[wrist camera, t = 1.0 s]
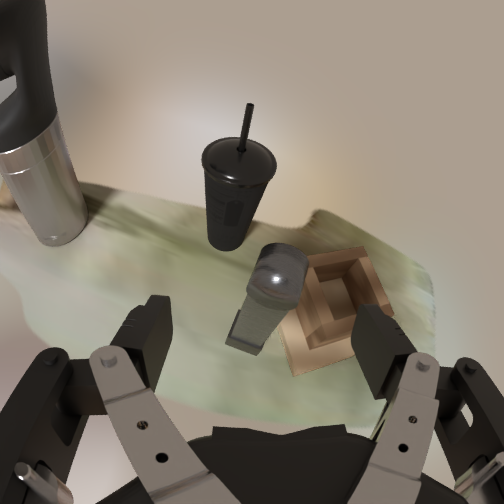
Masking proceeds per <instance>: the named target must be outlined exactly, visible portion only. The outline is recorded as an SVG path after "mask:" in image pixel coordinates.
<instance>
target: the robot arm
mask: <svg viewBox="0 0 504 504" xmlns="http://www.w3.org/2000/svg"><path fill="white" fill-rule="evenodd" d="M46 17H47V14H46V5H45V0H0V81H2V80H4V79H6V78H8V77H11V76H13V75H15V76H16V82H17V88H16V90H15V91H14V92H13V93H12V94H11V95H10V96H9V97H8V98H7V99H5V100H4V101H3V102H2V103H1V104H0V173H1V175H2V177H3V179H4V181H5V183H6V184H7V186H8V188H9V190H10V192H11V194H12V196H13V198H14V199H15V201H16V203H17V205H18V207H19V208H20V210H21V212H22V213H23V215H24V217H25V219H26V220H27V222H28V224H29V225H30V227H31V228H32V230H33V231H34V233H35V235H36V236H37V238H38V239H39V241H40V242H42V243H43V244H45V245H47V246H60V245H63V244H66V243H68V242H70V241H71V240H72V239H74V238H75V237H76V236H77V235H78V234H79V233H80V232H81V231H82V229H83V228H84V226H85V224H86V222H87V218H88V209H87V206H86V203H85V201H84V198H83V195H82V192H81V189H80V186H79V183H78V181H77V178H76V175H75V172H74V168H73V165H72V162H71V159H70V156H69V153H68V149H67V145H66V142H65V138H64V135H63V131H62V128H61V124H60V120H59V116H58V111H57V107H56V103H55V98H54V92H53V85H52V79H51V74H50V66H49V57H48V42H47V18H46ZM172 336H173V324H172V314H171V302H170V297H169V296H161V295H151V296H150V298H149V299H148V301H147V303H146V304H145V306H143V305H138V306H137V307H136V308H134V309H133V310H131V311H130V313H129V314H128V316H127V317H126V320H124V322H123V324H122V326H121V327H120V329H119V330H118V332H117V333H116V335H115V337H114V338H113V340H112V342H111V343H110V345H109V346H104V347H101V348H98V349H97V350H95V351H94V352H93V353H92V354H91V356H90V358H89V359H72V360H70V359H69V356H68V354H67V352H66V351H65V350H64V349H61V348H57V347H53V348H48V349H45V350H43V351H42V352H40V353H39V354H38V355H37V356H36V358H35V359H34V361H33V362H32V364H31V365H30V366H29V368H28V370H27V371H26V372H25V374H24V375H23V377H22V378H21V380H20V382H19V383H18V385H17V386H16V388H15V389H14V391H13V393H12V394H11V396H10V397H9V399H8V401H7V402H6V404H5V406H4V407H3V409H2V411H1V412H0V504H73V496H72V493H71V491H70V490H69V488H68V487H67V486H66V481H67V478H68V474H69V472H70V469H71V465H72V462H73V459H74V457H75V454H76V451H77V447H78V445H79V442H80V439H81V437H82V434H83V431H84V428H85V426H86V423H87V420H88V418H89V415H109V418H110V420H111V422H112V425H113V427H114V429H115V431H116V434H117V436H118V438H119V440H120V442H121V444H122V446H123V448H124V450H125V452H126V454H127V456H128V458H129V460H130V462H131V464H132V466H133V467H134V470H135V471H136V473H137V475H138V476H137V477H136V478H135V479H134V480H132V481H130V482H129V483H127V484H126V485H124V486H123V487H121V488H120V489H118V490H117V491H115V492H113V493H112V494H110V495H109V496H107V497H106V498H104V499H103V500H101V501H99V502H97V503H96V504H504V397H503V396H502V394H501V393H500V391H499V390H498V388H497V387H496V386H495V384H494V383H493V381H492V380H491V378H490V377H489V376H488V374H487V373H486V371H485V370H484V369H483V367H482V366H481V365H480V364H479V363H478V362H477V361H475V360H473V359H471V358H466V357H463V358H460V359H458V360H457V362H456V364H455V366H454V368H451V367H441V366H439V363H438V361H437V360H436V359H435V358H434V357H432V356H431V355H429V354H426V353H421V352H417V350H416V349H415V347H414V346H413V344H412V343H411V342H410V340H409V339H408V337H407V336H406V335H405V333H404V332H403V330H402V329H401V328H400V326H399V325H398V323H397V322H396V321H395V320H394V319H392V318H391V317H390V316H388V315H385V314H384V312H383V311H382V310H381V308H380V307H379V305H378V304H361V305H360V306H359V308H358V311H357V315H356V318H355V322H354V326H353V329H352V333H351V346H352V349H353V351H354V353H355V355H356V358H357V360H358V362H359V364H360V367H361V369H362V371H363V373H364V376H365V378H366V380H367V383H368V385H369V387H370V390H371V392H372V394H373V397H374V399H375V400H377V399H384V398H386V400H387V402H386V404H385V406H384V408H383V410H382V412H381V415H380V417H379V419H378V421H377V423H376V426H375V428H374V430H373V432H372V434H371V436H370V438H366V437H364V436H360V435H357V434H352V433H347V431H346V427H345V424H340V425H331V426H319V427H312V428H308V429H305V430H301V431H297V432H293V433H289V434H286V435H277V434H272V433H267V432H262V431H257V430H252V429H248V428H231V427H230V428H229V427H215V426H213V432H212V435H210V436H204V437H200V438H196V439H194V440H190V441H188V442H186V441H185V439H184V438H183V437H182V435H181V434H180V433H179V431H178V430H177V428H176V427H175V425H174V424H173V422H172V421H171V419H170V418H169V416H168V415H167V413H166V412H165V410H164V409H163V407H162V406H161V404H160V402H159V401H158V399H157V398H156V396H155V394H154V392H155V389H156V386H157V383H158V380H159V377H160V374H161V371H162V368H163V365H164V362H165V359H166V356H167V353H168V350H169V347H170V344H171V341H172ZM465 404H467V405H468V407H469V409H470V411H471V412H472V414H473V423H472V426H471V427H469V425H468V423H467V421H466V419H465V417H464V415H463V414H462V412H461V409H462V408H463V406H464V405H465ZM433 430H435V432H436V434H437V437H438V439H439V441H440V444H441V446H442V448H443V451H444V453H445V456H446V458H447V461H448V463H449V466H450V468H451V471H452V473H453V476H454V479H455V482H456V483H455V486H454V491H453V490H451V489H450V488H448V487H446V486H444V485H443V484H441V483H439V482H438V481H436V480H434V479H432V478H431V477H429V476H428V475H426V474H424V473H422V469H423V466H424V463H425V460H426V456H427V453H428V449H429V445H430V442H431V438H432V434H433Z"/></svg>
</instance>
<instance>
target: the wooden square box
mask: <svg viewBox="0 0 504 504" xmlns="http://www.w3.org/2000/svg"><path fill="white" fill-rule="evenodd" d="M307 258H308V260H309V267H308V271H307V275H306V278H305V282H304V285H303V289H302V292H301V296H300V299H299V303H298V306H297V307H296V308H295V309H292V310H290V311H289V312H288V313H287V315H286V316H285V317H284V318H283V320H282V321H281V322H280V323H279V324H278V326H277V328H278V331H279V334H280V337H281V340H282V344H283V347H284V350H285V353H286V356H287V359H288V362H289V365H290V368H291V371H292V374H293V377H294V376H297V375H300V374H303V373H306V372H309V371H312V370H315V369H318V368H321V367H324V366H327V365H330V364H333V363H336V362H338V361H341V360H344V359H346V358H349V357H352V356H354V355H355V353H354V351H353V349H352V346H351V333H352V329H353V326H354V322H355V318H356V315H357V311H358V308H359V306H360V305H361V304H378V305H379V307H380V308H381V310H382V311H383V312H384V314H385V315H388V316H390V317H392V316H393V315H394V312H393V310H392V308H391V305H390V303H389V301H388V298H387V296H386V294H385V292H384V289H383V287H382V285H381V283H380V281H379V278H378V276H377V274H376V272H375V270H374V268H373V266H372V264H371V262H370V260H369V258H368V256H367V253H366V251H365V249H364V247H363V246H361V247H356V248H350V249H344V250H338V251H333V252H327V253H321V254H315V255H309V256H307Z"/></svg>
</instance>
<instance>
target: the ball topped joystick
mask: <svg viewBox="0 0 504 504" xmlns="http://www.w3.org/2000/svg"><path fill="white" fill-rule="evenodd" d="M308 267H309V260H308V258H307V256H306V255H305V254H304V253H303V252H302V251H301V250H299V249H297V248H296V247H294V246H291V245H288V244H284V243H271V244H268V245H266V246H264V247H263V248H262V250H261V253H260V255H259V258H258V260H257V263H256V265H255V268H254V270H253V273H252V275H251V278H250V280H249V283H248V285H247V288H246V291H247V293H248V294H247V296H246V299H245V301H244V304H243V306H242V309H241V310H238V312H237V315H236V317H235V319H234V322H233V324H232V327H231V329H230V332H229V334H228V337H227V340H226V342H225V344H226V345H229V346H231V347H234V348H237V349H239V350H242V351H244V352H247V353H250V354H252V355H255V356H257V355H258V354H259V352H260V351H261V350H262V348H263V345H264V342H265V340H266V339H267V338H268V337H269V335H270V334H271V333H272V332H273V331H274V329H275V328H276V327H277V326H278V324H279V323H280V322H281V321H282V320H283V318H284V317H285V316H286V315H287V313H288V312H289V311H290V310H292V309H295V308H296V307H297V306H298V303H299V299H300V296H301V292H302V289H303V285H304V282H305V278H306V275H307V271H308Z"/></svg>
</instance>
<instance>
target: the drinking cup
mask: <svg viewBox="0 0 504 504" xmlns="http://www.w3.org/2000/svg"><path fill="white" fill-rule="evenodd" d="M253 109H254V104H252V103H247V105H246V110H245V116H244V120H243V126H242V131H241V137H228V138H222V139H218V140H216V141H214V142H212V143H211V144H209V145H208V146H207V147H206V148H205V149H204V151H203V153H202V159H201V160H202V166H203V168H204V174H205V196H206V215H207V232H208V240H209V242H210V244H211V245H212V246H213V247H214V248H216V249H218V250H221V251H232V250H235V249H237V248H238V247H239V246H240V245H241V244H242V242H243V239H244V237H245V235H246V232H247V230H248V228H249V226H250V223H251V221H252V219H253V216H254V214H255V212H256V209H257V207H258V205H259V202H260V200H261V198H262V196H263V193H264V191H265V189H266V186H267V184H268V182H269V181H270V180H271V179H272V178H273V176H274V175H275V172H276V169H277V163H276V159H275V157H274V155H273V154H272V153H271V151H269V150H268V149H267V148H266V147H265V146H263V145H262V144H260V143H258V142H256V141H253V140H250V139H247V138H248V133H249V128H250V123H251V119H252V114H253Z"/></svg>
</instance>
